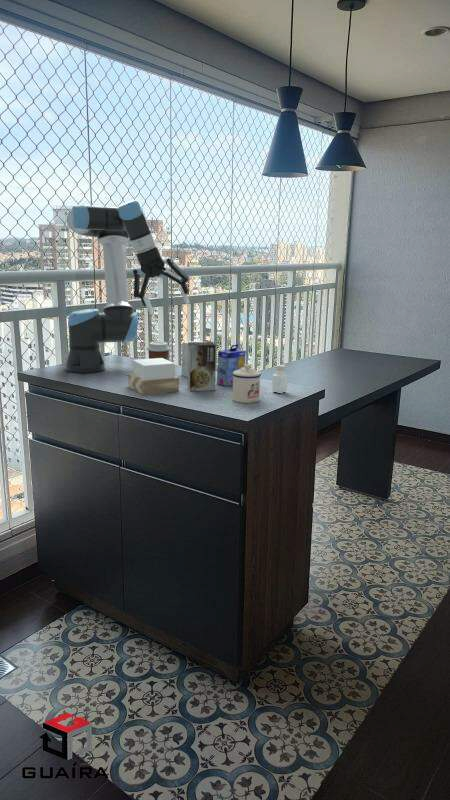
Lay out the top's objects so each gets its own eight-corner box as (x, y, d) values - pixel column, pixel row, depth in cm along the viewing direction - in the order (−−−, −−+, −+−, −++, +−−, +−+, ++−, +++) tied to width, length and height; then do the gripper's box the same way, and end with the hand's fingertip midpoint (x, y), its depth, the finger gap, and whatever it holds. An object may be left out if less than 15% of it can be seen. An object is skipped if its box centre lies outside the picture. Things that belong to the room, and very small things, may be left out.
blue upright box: (227, 386, 198) (228, 346, 195) (215, 384, 202) (216, 344, 198) (245, 382, 206) (246, 343, 202) (234, 380, 209) (235, 341, 206)
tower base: (128, 387, 195) (128, 373, 194) (162, 384, 201) (162, 370, 200) (143, 396, 184) (143, 381, 183) (178, 392, 190) (178, 377, 189)
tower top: (132, 374, 193) (132, 359, 192) (162, 371, 198) (162, 357, 197) (144, 380, 184) (144, 365, 183) (174, 377, 189) (174, 363, 188)
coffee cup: (171, 371, 221) (171, 341, 218) (168, 376, 212) (168, 345, 209) (148, 370, 221) (148, 340, 218) (145, 375, 212) (144, 344, 209)
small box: (189, 378, 210) (189, 344, 207) (181, 375, 215) (181, 341, 212) (207, 376, 214) (208, 342, 211) (199, 373, 220) (199, 340, 216)
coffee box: (212, 386, 198) (213, 341, 194) (215, 390, 192) (216, 344, 188) (187, 386, 197) (187, 341, 192) (189, 391, 190) (189, 344, 186)
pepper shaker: (280, 394, 189) (282, 367, 187) (271, 392, 192) (272, 365, 190) (287, 392, 192) (288, 365, 190) (277, 390, 195) (279, 363, 193)
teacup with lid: (251, 405, 175) (252, 368, 172) (226, 400, 179) (227, 365, 176) (268, 397, 185) (270, 363, 182) (244, 393, 189) (245, 359, 186)
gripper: (109, 263, 183) (134, 321, 192) (177, 240, 176) (201, 302, 185) (116, 257, 190) (140, 313, 199) (182, 235, 182) (205, 294, 191)
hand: (169, 308), depth 192 cm, fingers open, 13 cm apart
